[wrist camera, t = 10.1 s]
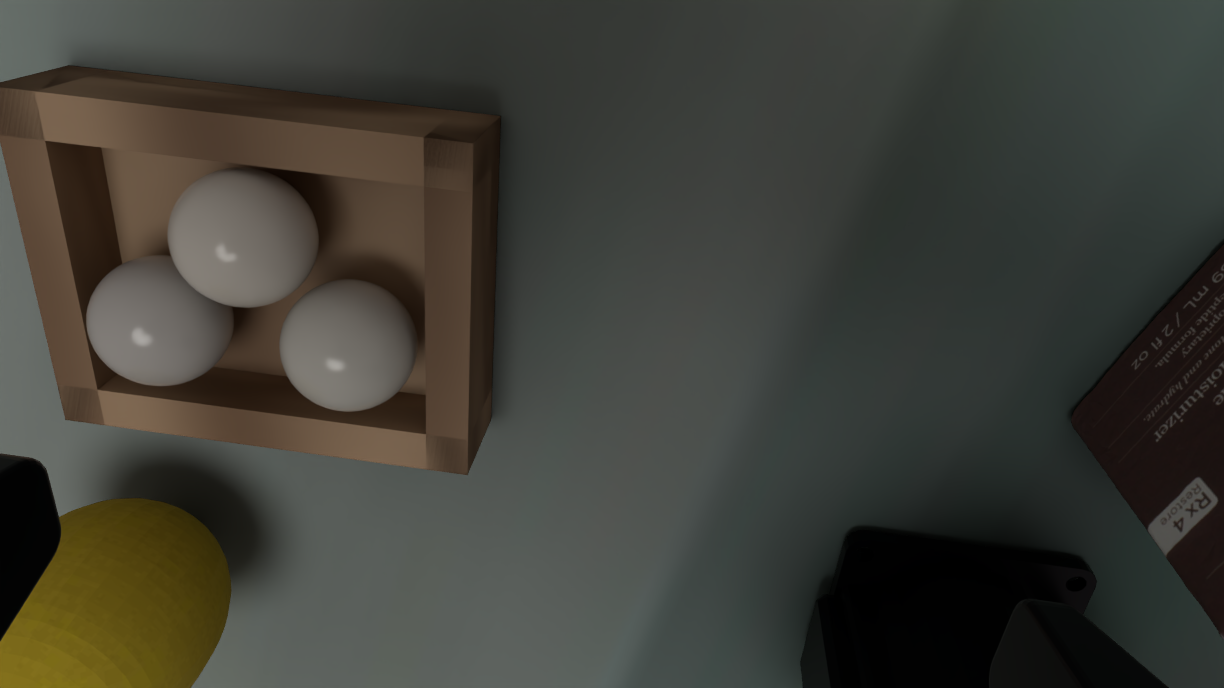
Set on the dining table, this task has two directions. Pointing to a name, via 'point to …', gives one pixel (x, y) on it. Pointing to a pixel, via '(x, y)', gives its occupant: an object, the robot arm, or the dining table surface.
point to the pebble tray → (348, 249)
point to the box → (1171, 433)
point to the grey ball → (243, 237)
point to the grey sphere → (348, 345)
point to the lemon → (121, 602)
